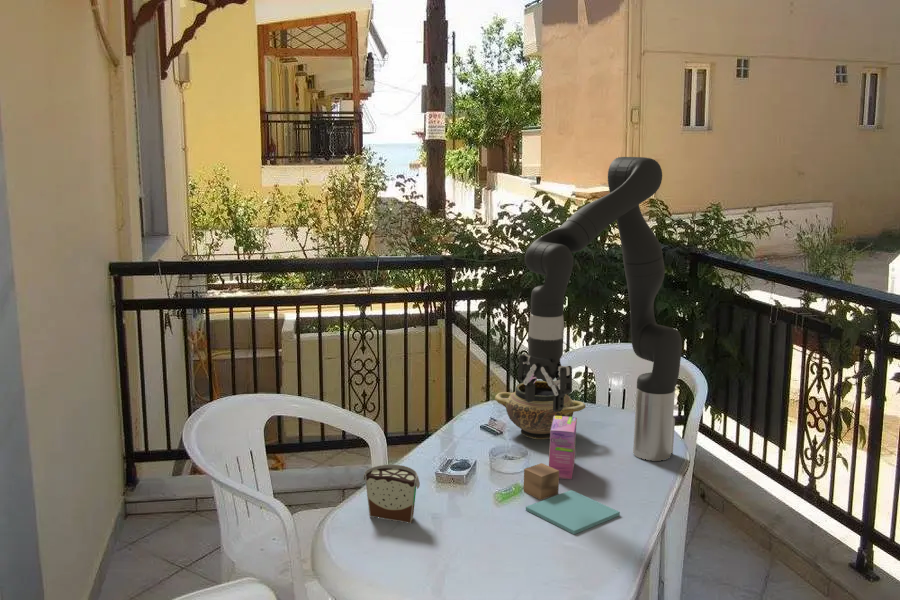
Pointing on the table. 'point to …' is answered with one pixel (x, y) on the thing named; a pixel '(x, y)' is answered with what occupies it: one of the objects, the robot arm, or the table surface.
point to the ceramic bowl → (536, 409)
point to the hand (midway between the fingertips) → (543, 406)
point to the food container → (391, 492)
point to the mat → (572, 511)
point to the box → (563, 445)
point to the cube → (541, 481)
